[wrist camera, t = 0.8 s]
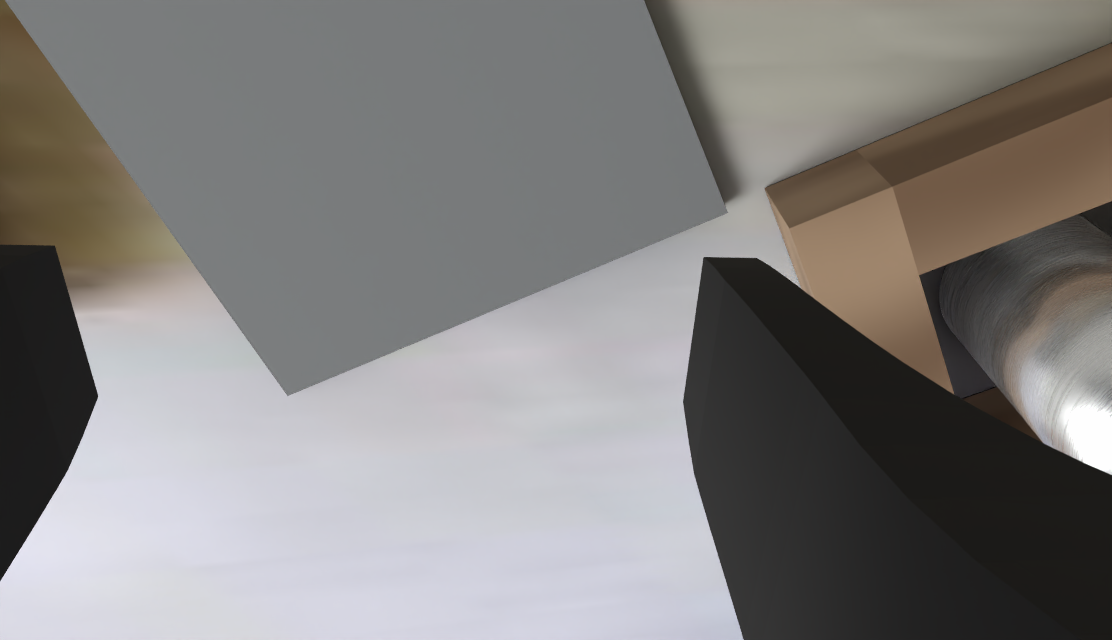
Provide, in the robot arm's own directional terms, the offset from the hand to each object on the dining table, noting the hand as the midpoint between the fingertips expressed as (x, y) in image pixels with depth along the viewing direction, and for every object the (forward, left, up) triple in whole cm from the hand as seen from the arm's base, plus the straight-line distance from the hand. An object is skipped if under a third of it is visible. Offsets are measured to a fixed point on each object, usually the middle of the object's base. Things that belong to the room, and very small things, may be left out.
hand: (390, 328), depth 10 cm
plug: (-10, -10, -11) cm, 18 cm away
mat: (+1, +2, -11) cm, 11 cm away
